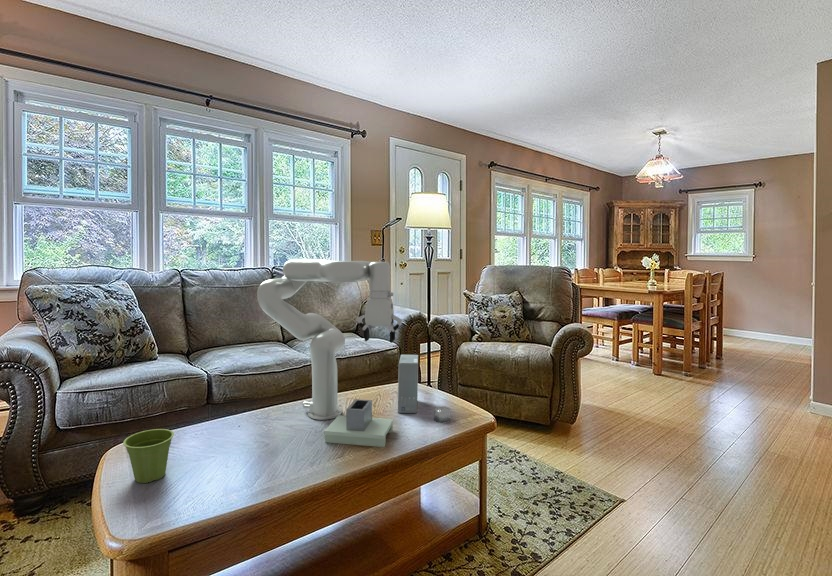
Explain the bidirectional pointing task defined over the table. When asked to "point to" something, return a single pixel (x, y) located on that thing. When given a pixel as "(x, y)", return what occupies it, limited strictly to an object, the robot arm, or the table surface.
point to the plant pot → (149, 453)
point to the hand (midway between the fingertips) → (379, 341)
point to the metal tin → (442, 414)
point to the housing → (359, 415)
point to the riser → (359, 432)
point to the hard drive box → (408, 384)
